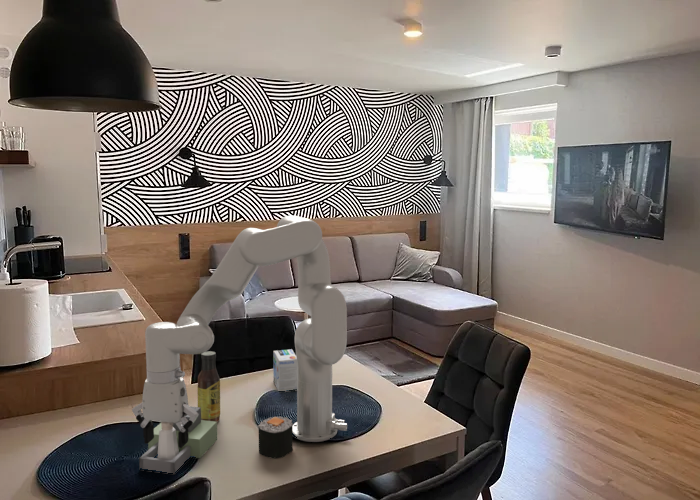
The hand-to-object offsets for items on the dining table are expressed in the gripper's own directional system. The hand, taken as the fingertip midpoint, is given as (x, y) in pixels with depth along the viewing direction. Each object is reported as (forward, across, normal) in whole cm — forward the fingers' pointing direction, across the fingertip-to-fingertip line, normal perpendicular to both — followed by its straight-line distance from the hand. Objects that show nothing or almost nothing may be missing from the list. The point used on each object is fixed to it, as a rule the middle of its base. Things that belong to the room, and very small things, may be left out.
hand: (166, 442), depth 134 cm
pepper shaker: (+5, 0, 0) cm, 5 cm away
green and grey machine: (+5, 0, -5) cm, 7 cm away
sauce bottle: (+5, 0, -24) cm, 24 cm away
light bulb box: (+5, -13, -54) cm, 55 cm away
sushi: (+5, -24, -12) cm, 27 cm away
